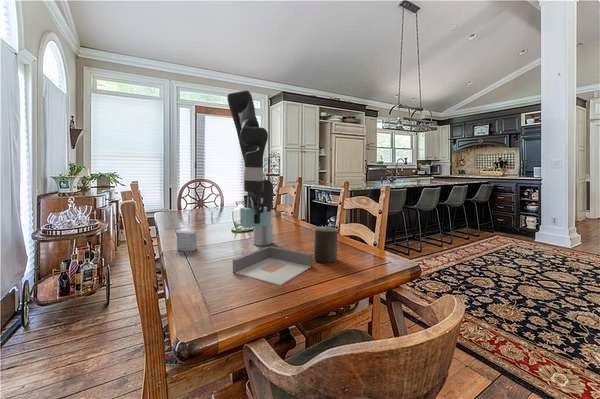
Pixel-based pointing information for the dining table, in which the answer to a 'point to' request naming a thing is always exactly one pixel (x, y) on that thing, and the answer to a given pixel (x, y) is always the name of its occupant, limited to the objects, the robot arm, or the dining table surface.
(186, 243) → the medicine box
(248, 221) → the teal block
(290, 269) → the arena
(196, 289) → the dining table surface
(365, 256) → the dining table surface
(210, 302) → the dining table surface
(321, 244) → the pillar candle
